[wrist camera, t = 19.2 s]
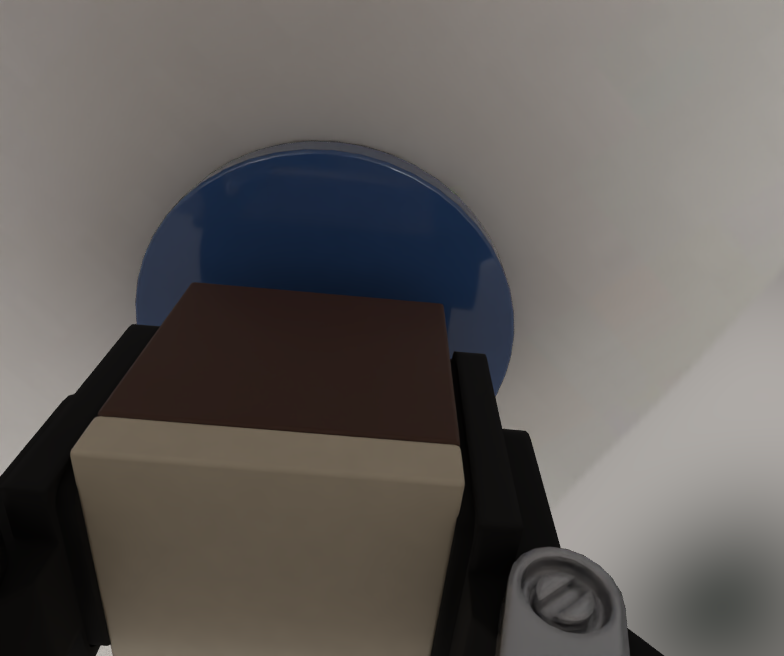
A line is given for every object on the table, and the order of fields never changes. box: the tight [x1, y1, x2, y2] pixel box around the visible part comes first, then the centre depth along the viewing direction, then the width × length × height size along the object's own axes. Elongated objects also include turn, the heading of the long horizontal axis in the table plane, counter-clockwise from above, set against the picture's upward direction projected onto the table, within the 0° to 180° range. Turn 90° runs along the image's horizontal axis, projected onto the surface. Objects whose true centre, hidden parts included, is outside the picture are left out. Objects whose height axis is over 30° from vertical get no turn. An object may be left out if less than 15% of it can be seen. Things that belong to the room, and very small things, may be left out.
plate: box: [135, 141, 514, 396], centre depth 13 cm, size 8×8×1 cm
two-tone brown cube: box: [70, 282, 465, 656], centre depth 10 cm, size 4×4×4 cm
